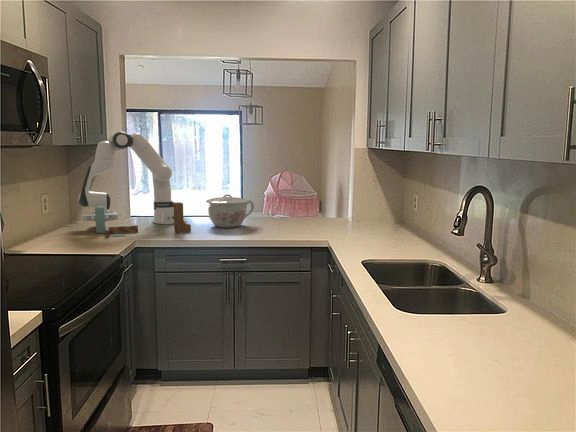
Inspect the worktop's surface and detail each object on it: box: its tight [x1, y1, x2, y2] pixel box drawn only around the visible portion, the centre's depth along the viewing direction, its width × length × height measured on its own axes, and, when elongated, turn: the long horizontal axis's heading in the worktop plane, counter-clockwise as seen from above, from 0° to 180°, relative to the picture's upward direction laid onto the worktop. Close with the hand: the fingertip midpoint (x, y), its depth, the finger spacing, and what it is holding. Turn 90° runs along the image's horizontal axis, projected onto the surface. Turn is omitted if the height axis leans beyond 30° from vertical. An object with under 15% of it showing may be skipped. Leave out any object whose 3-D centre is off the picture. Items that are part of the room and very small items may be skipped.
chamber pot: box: [205, 194, 255, 229], centre depth 312 cm, size 28×28×21 cm
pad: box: [109, 233, 126, 238], centre depth 280 cm, size 8×8×1 cm
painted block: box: [94, 206, 106, 234], centre depth 287 cm, size 5×5×15 cm
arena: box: [105, 225, 139, 239], centre depth 282 cm, size 18×13×4 cm
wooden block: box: [173, 201, 192, 234], centre depth 290 cm, size 9×4×18 cm, turn 123°
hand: (100, 219), depth 286 cm, fingers closed on painted block, 5 cm apart
